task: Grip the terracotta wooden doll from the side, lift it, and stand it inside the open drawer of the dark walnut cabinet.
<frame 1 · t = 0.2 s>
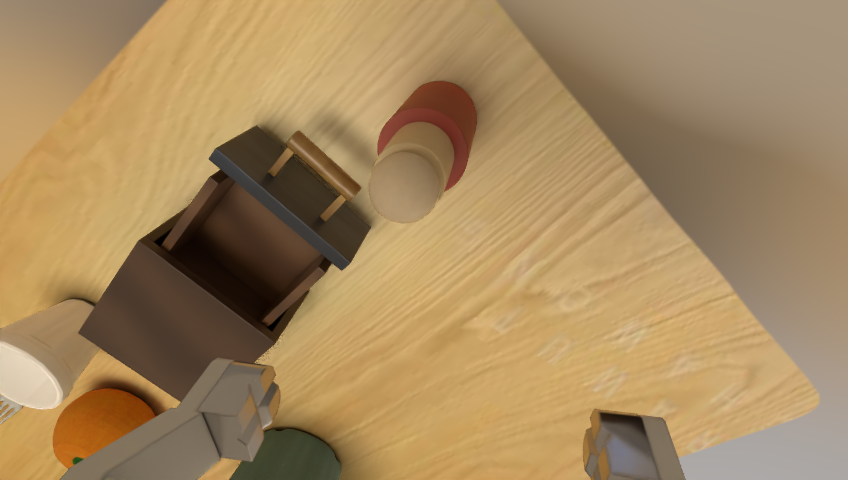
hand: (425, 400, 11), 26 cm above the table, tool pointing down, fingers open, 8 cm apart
doll: (440, 119, 34), on the table
fork: (29, 384, 63), on the table
drawer: (268, 229, 37), point 4 cm above the table, slide at 10.0 cm
cabinet: (218, 288, 47), on the table
fruit: (131, 406, 61), on the table
cup: (90, 316, 53), on the table
flower pot: (298, 454, 60), on the table
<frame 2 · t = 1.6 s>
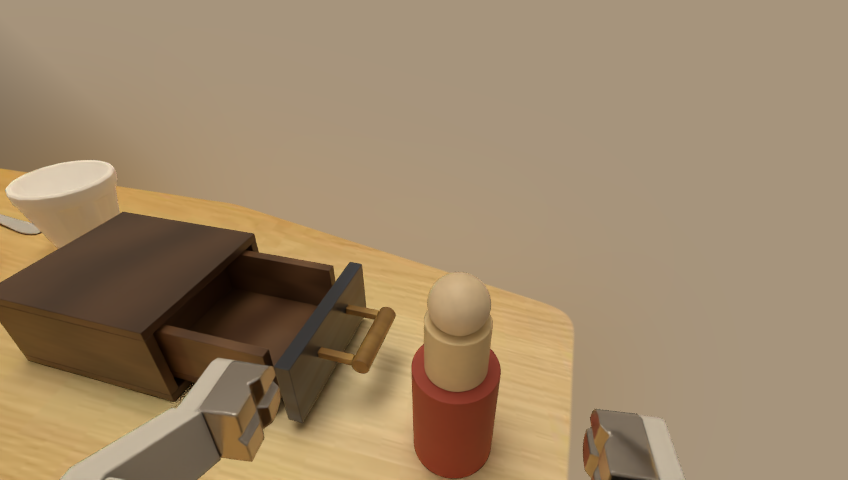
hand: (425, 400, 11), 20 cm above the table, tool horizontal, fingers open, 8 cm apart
doll: (452, 440, 32), on the table
drawer: (279, 323, 37), point 4 cm above the table, slide at 10.0 cm
cabinet: (159, 324, 42), on the table
cup: (96, 248, 54), on the table
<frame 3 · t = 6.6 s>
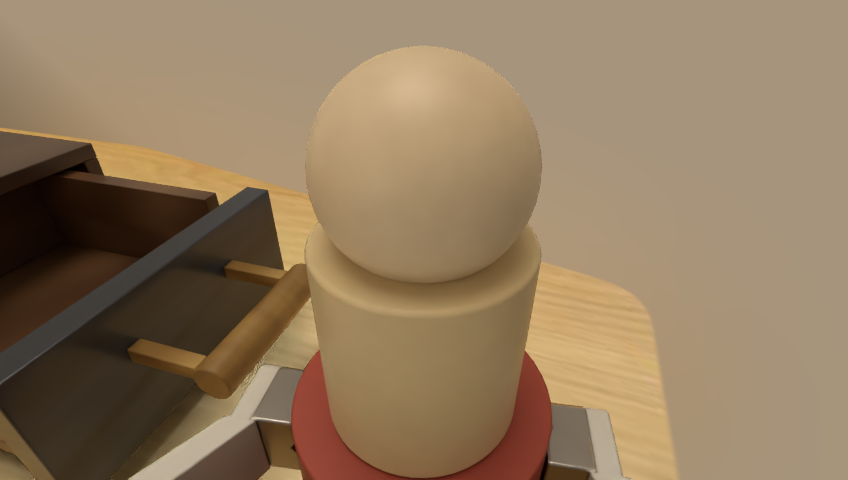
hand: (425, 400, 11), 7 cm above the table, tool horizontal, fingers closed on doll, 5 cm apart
drawer: (93, 295, 19), point 4 cm above the table, slide at 10.0 cm
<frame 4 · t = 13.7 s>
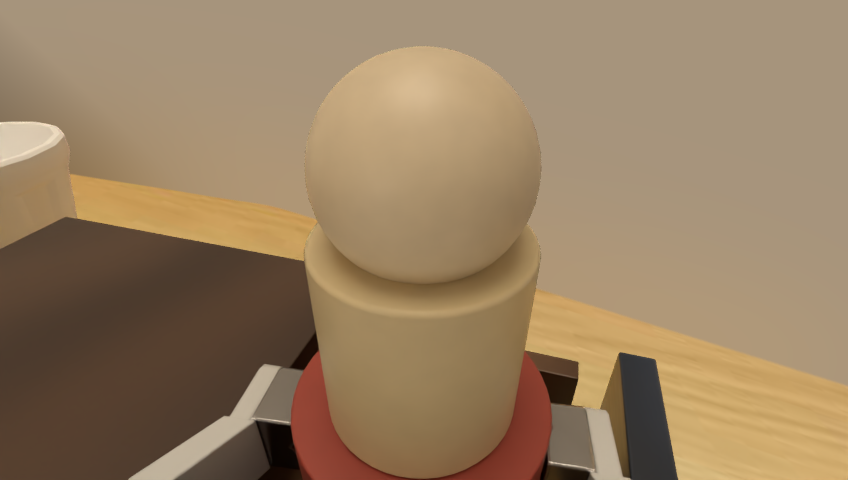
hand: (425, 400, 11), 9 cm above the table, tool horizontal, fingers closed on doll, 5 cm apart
cup: (34, 281, 30), on the table
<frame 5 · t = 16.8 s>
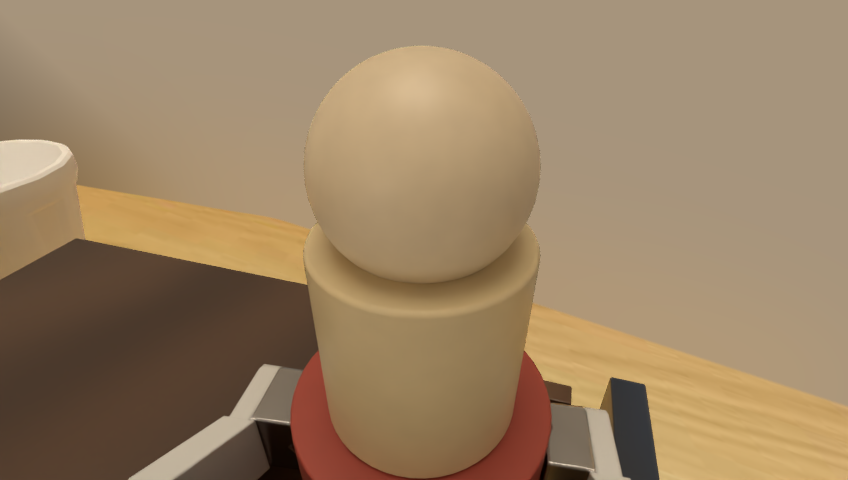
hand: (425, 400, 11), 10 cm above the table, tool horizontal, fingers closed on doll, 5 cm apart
cup: (42, 295, 31), on the table
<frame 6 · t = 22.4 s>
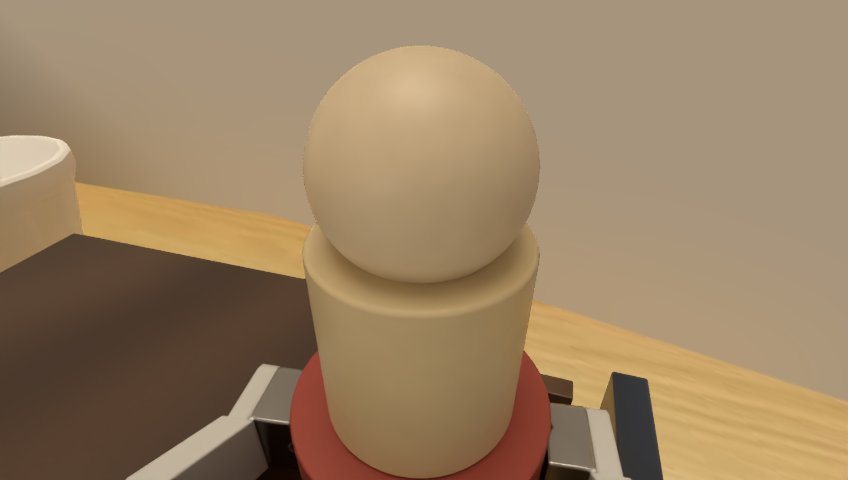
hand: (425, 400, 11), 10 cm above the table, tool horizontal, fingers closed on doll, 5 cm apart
cup: (40, 292, 30), on the table
when the fingers open (11 cm above the table, at t = 27.3 s): doll drops 2 cm, resting on drawer.
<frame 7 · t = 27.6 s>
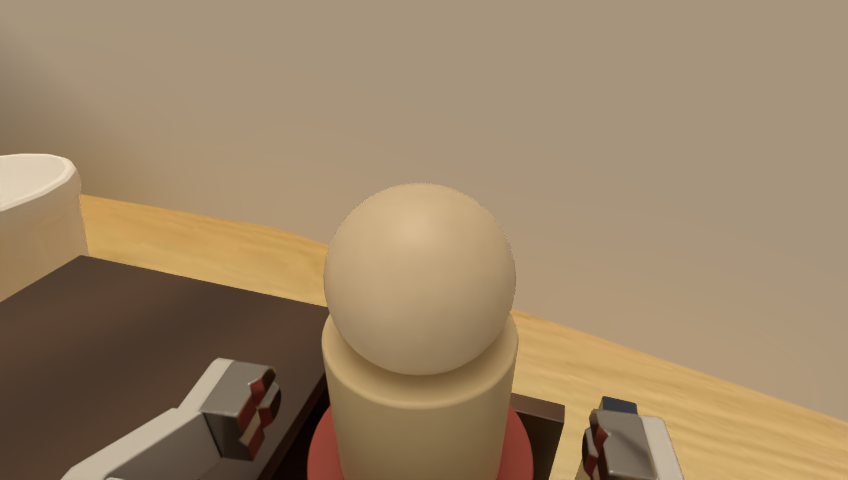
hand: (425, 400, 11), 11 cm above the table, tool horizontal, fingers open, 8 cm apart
cup: (46, 307, 31), on the table
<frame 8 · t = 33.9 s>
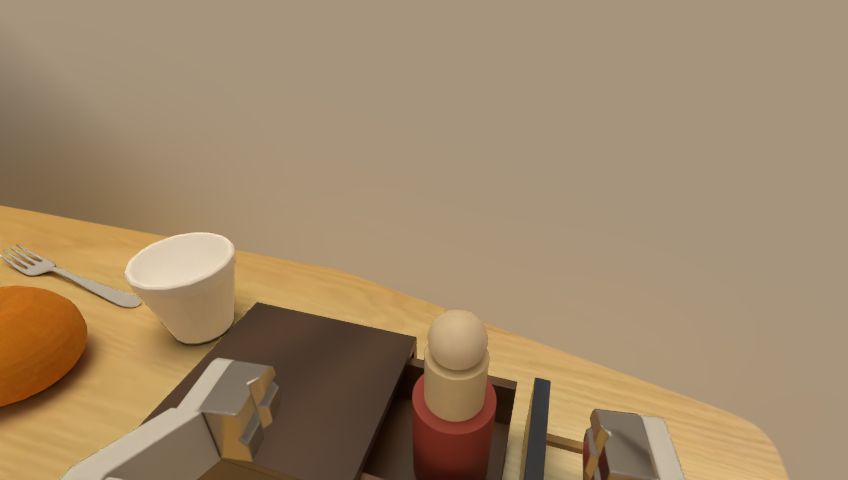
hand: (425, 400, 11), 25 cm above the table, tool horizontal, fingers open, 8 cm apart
doll: (450, 465, 34), point 2 cm above the table, touching drawer
fork: (72, 282, 56), on the table
drawer: (467, 455, 32), point 4 cm above the table, slide at 10.0 cm, touching doll
cabinet: (306, 437, 38), on the table
fruit: (30, 374, 44), on the table
cup: (205, 327, 49), on the table
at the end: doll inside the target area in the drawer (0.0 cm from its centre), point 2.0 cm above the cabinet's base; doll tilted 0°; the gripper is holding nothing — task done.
